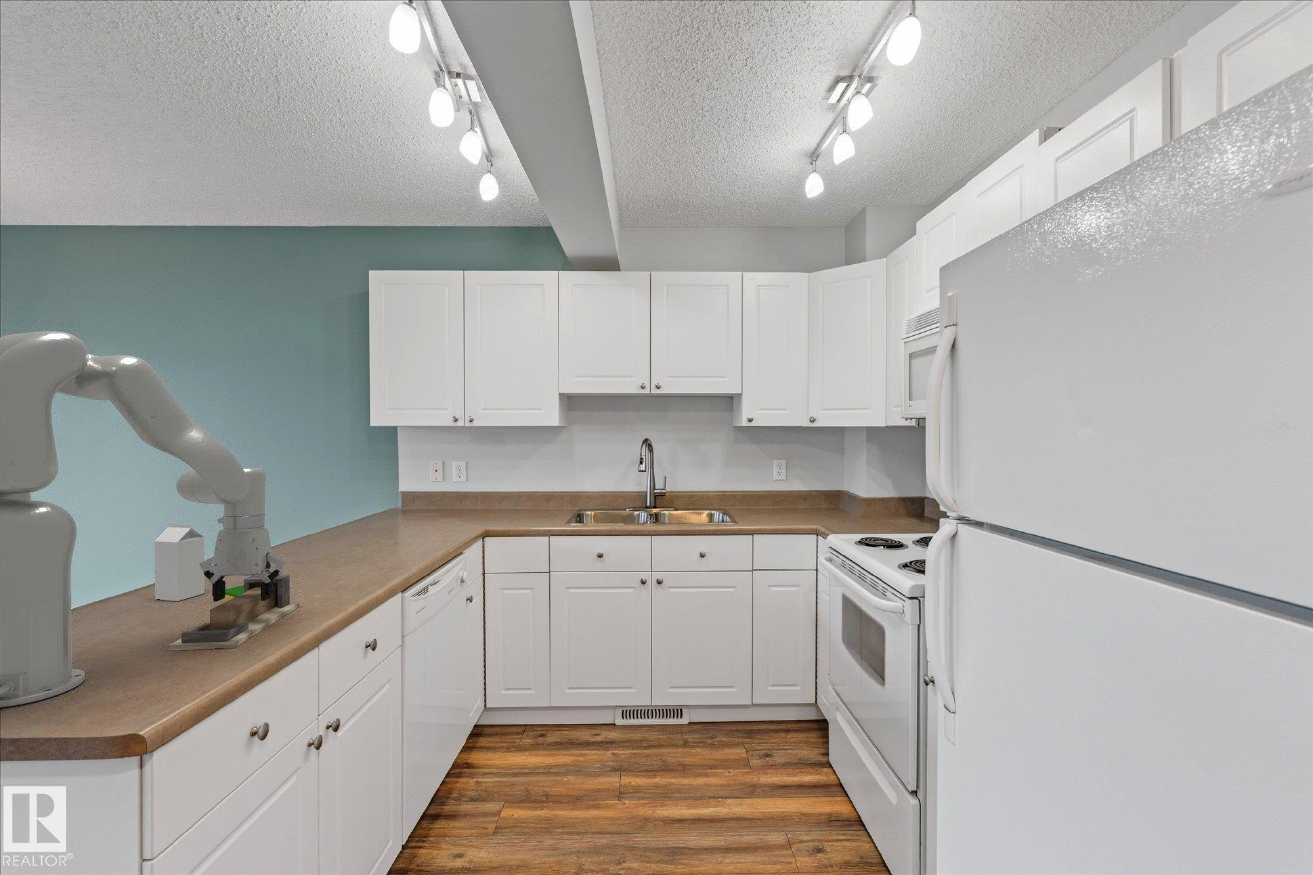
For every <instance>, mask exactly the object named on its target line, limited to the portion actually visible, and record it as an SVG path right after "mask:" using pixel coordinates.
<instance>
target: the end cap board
mask: <svg viewBox="0 0 1313 875" xmlns="http://www.w3.org/2000/svg"><path fill="white" fill-rule="evenodd" d="M290 578H291V576H290V574H280V575H279V576H277V577H276V579H275V580H273V586H276V607H274V608H272V609H271V610H269V611H267V612H266V613H264V614H262V615H260V616H259V617H257V618H255V619H254V620H252V621H250V622H242V623H241V624H239V625H237V626H235V627H234V628H232V629H230V630H215V631H210V622H206V623H203V624H201V625H199V626H197V627H196V628H194V629H191V630H190V631H189V630H188V631H186V630H185V631H183V632H181V634H180V636H181V637H180V639H178V640H175V641H174V642H172V643H170V644H168V645H167V651H170V652H171V651H191V650H192V651H194V650H196V651H197V650H216V649H215V648H224V649H235V648H237V647H238V646H239V645H241V644H243V643H245V642H246V641H247V640H249V639H251V638H252V637H254V636H256V635H257V634H258V633H260V632H262V631H263V630H265V629H267V628H268V627H270V626H271V625H273V624H274V623H276V622H278V621H279V620H281V619H282V618H284V617H285V616H287V615H289V614H290V613H292V612H293V611H294V610H296V609H298V608H299V607H301V606H300V605H301V604H300V602H299V601H298V602H295V601H294V602H291V601H290V597H291V594H290V593H291V591H290V590H291V589H290V588H291V587H290V586H291V584H290V582H291V581H290V580H291V579H290ZM263 582H264V581H263V580H262V579H261V578H260V576H259V575H252V576H248V577H247V578H244V579H243V585H244V593H245V592H247V591H249V590H251V589H253V588H255V587H257V586H261V584H262V583H263ZM236 646H237V647H236Z"/></svg>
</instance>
